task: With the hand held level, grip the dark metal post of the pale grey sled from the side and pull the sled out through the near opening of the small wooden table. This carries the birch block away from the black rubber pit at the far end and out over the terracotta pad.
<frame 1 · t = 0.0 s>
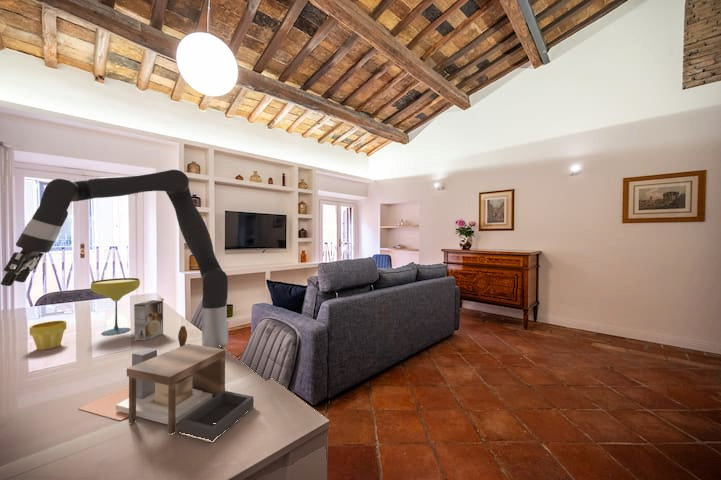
hand: (12, 283, 88), 31 cm above the table, tool tilted 20°, fingers open, 8 cm apart
hand bell: (182, 373, 96), on the table
cocktail glass: (116, 332, 137), on the table
birch block: (174, 401, 76), point 2 cm above the table, touching sled
plant pot: (48, 347, 117), on the table
small wooden table: (179, 410, 75), on the table
coffee box: (149, 337, 130), on the table
sled: (165, 379, 77), point 7 cm above the table, slide at 0.0 cm, touching birch block
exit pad: (131, 398, 81), on the table
pit trap: (218, 419, 71), on the table
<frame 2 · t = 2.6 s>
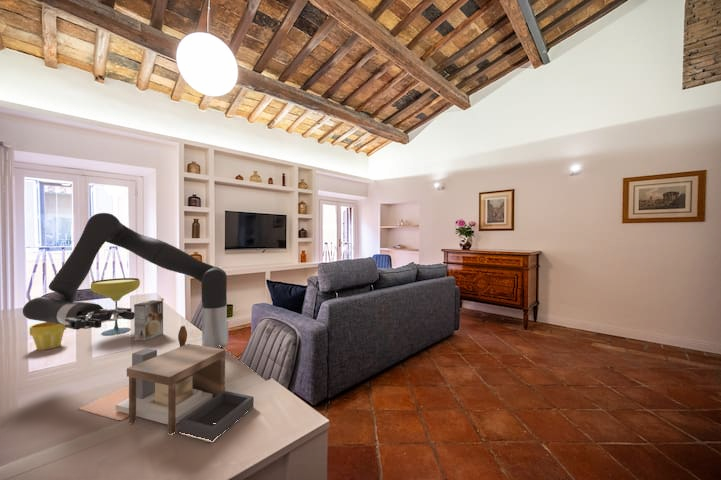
hand: (117, 319, 82), 22 cm above the table, tool horizontal, fingers open, 8 cm apart
nothing on the table moved.
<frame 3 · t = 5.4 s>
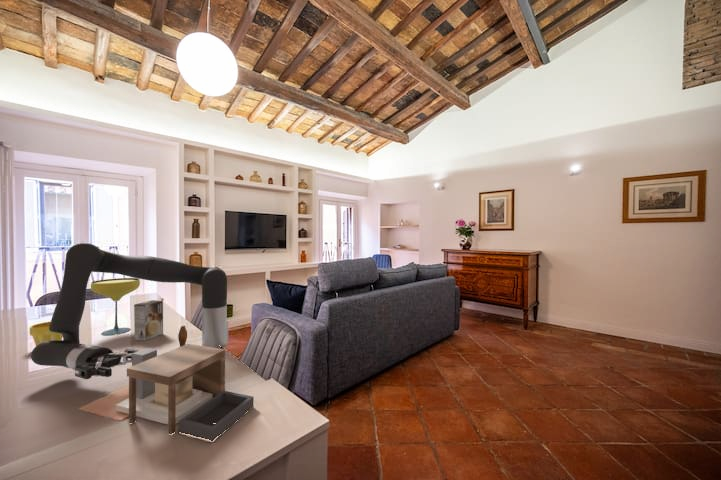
hand: (127, 366, 81), 9 cm above the table, tool horizontal, fingers open, 8 cm apart
nothing on the table moved.
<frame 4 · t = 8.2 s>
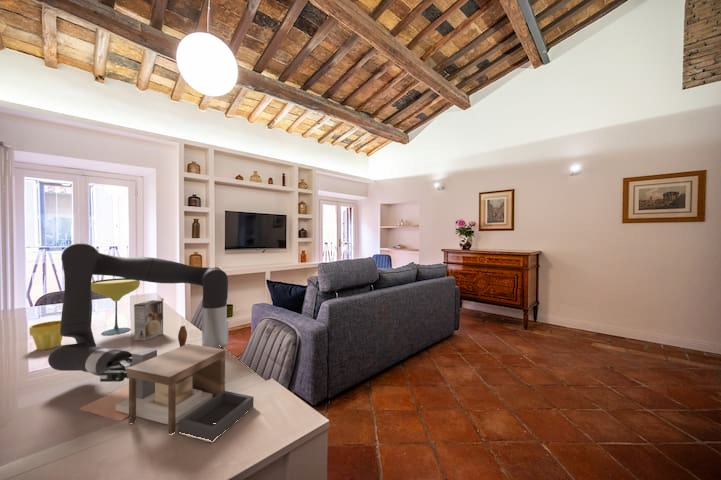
hand: (151, 371, 78), 9 cm above the table, tool horizontal, fingers closed on sled, 4 cm apart
sled: (165, 379, 77), point 7 cm above the table, slide at 0.0 cm, touching birch block, gripper
everything else where it was.
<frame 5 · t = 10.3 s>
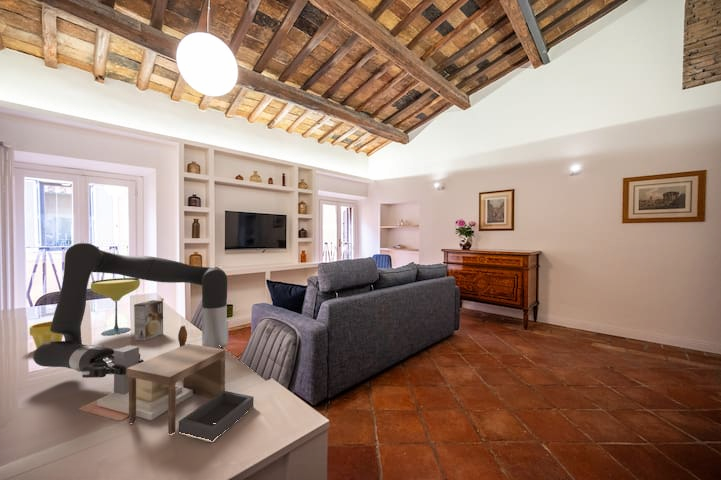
hand: (133, 367, 80), 9 cm above the table, tool horizontal, fingers closed on sled, 4 cm apart
birch block: (154, 396, 78), point 2 cm above the table, touching sled
sled: (146, 375, 79), point 7 cm above the table, slide at 7.2 cm, touching birch block, gripper
everything else where it was.
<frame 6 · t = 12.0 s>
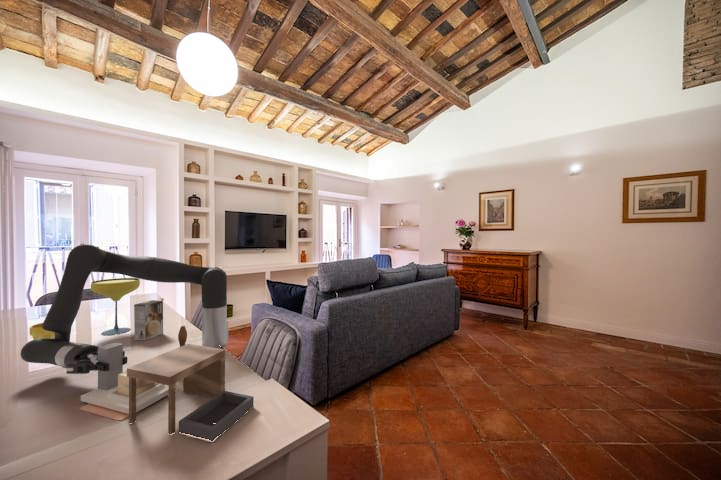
hand: (117, 364, 82), 9 cm above the table, tool horizontal, fingers closed on sled, 4 cm apart
birch block: (137, 392, 80), point 2 cm above the table, touching sled
sled: (129, 372, 81), point 7 cm above the table, slide at 13.9 cm, touching birch block, gripper
everything else where it was.
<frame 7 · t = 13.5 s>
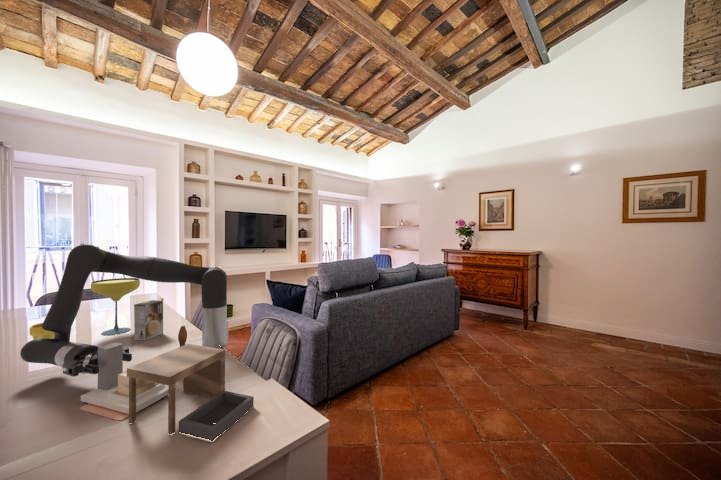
hand: (114, 363, 83), 9 cm above the table, tool horizontal, fingers open, 8 cm apart
sled: (129, 372, 81), point 7 cm above the table, slide at 14.0 cm, touching birch block
everything else where it was.
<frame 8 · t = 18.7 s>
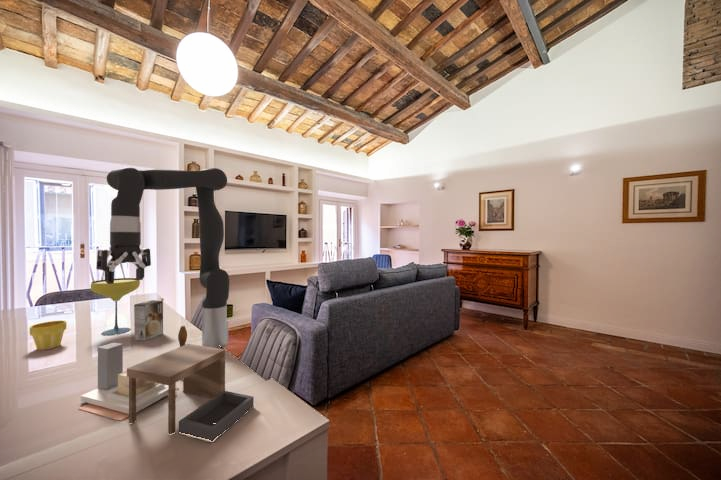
hand: (125, 281, 90), 32 cm above the table, tool pointing down, fingers open, 8 cm apart
nothing on the table moved.
at the end: sled slide at 14.0 cm; birch block inside the target area (1.0 cm from its centre), point 2.1 cm above the table; birch block touching sled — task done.
